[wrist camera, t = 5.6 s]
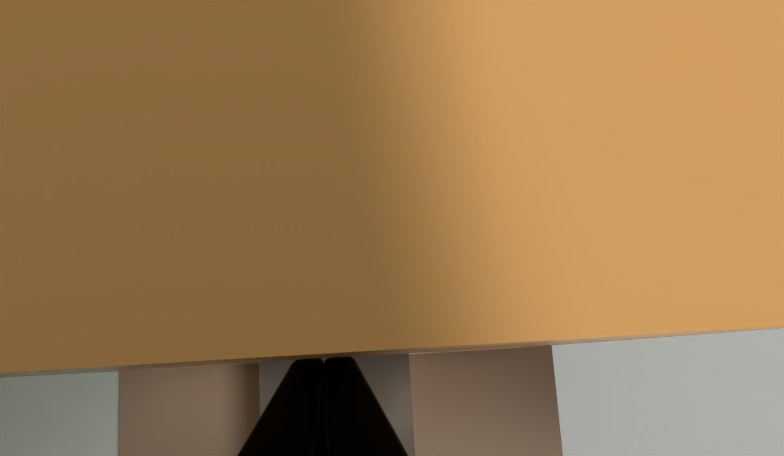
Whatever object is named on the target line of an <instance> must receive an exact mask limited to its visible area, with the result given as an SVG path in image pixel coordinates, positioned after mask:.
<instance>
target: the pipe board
mask: <svg viewBox="0 0 784 456" xmlns="http://www.w3.org/2000/svg"><path fill="white" fill-rule="evenodd" d="M353 358H354V359H355V360H356V362H357V364H358V366H359V367H360V369H361V371H362V373H363V375H364V376H365V378H366V380H367V382H368V383H369V385H370V387H371V389H372V391H373V392H374V394H375V396H376V398H377V400H378V401H379V403H380V405H381V407H382V409H383V410H384V412H385V414H386V416H387V418H388V419H389V421H390V423H391V425H392V427H393V428H394V430H395V432H396V434H397V435H398V437H399V439H400V441H401V443H402V444H403V446H404V448H405V450H406V452H407V453H408V455H409V456H563V454H562V445H561V435H560V425H559V415H558V406H557V396H556V386H555V376H554V366H553V357H552V347H551V345H547V346H533V347H520V348H505V349H488V350H471V351H455V352H438V353H422V354H409V353H408V354H391V355H374V356H358V357H353ZM325 359H327V358H324V359H322V361H323V362H324V361H325ZM294 361H295V360H291V361H275V362H259V363H256V364H239V365H222V366H206V367H189V368H172V369H155V370H135V371H120V397H119V456H237V455H238V453H239V452H240V450H241V448H242V447H243V445H244V443H245V441H246V440H247V438H248V436H249V435H250V433H251V431H252V430H253V428H254V426H255V425H256V423H257V421H258V420H259V418H260V416H261V414H262V413H263V411H264V409H265V408H266V406H267V404H268V403H269V401H270V399H271V398H272V396H273V394H274V393H275V391H276V389H277V387H278V386H279V384H280V382H281V381H282V379H283V377H284V376H285V374H286V372H287V371H288V369H289V367H290V366H291V364H292V363H293V362H294Z"/></svg>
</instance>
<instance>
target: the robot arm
mask: <svg viewBox="0 0 784 456" xmlns="http://www.w3.org/2000/svg"><path fill="white" fill-rule="evenodd" d="M237 456H409V455H408V453H407V452H406V450H405V448H404V446H403V444H402V443H401V441H400V439H399V437H398V435H397V434H396V432H395V430H394V428H393V427H392V425H391V423H390V421H389V419H388V418H387V416H386V414H385V412H384V410H383V409H382V407H381V405H380V403H379V401H378V400H377V398H376V396H375V394H374V392H373V391H372V389H371V387H370V385H369V383H368V382H367V380H366V378H365V376H364V375H363V373H362V371H361V369H360V367H359V366H358V364H357V362H356V360H355V359H354V358H353V357H350V356H349V357H333V358H327V359H325V361H324V362H323V361H322V359H320V358H316V359H300V360H295V361H294V362H293V363H292V364H291V366H290V367H289V369H288V371H287V372H286V374H285V376H284V377H283V379H282V381H281V382H280V384H279V386H278V387H277V389H276V391H275V393H274V394H273V396H272V398H271V399H270V401H269V403H268V404H267V406H266V408H265V409H264V411H263V413H262V414H261V416H260V418H259V420H258V421H257V423H256V425H255V426H254V428H253V430H252V431H251V433H250V435H249V436H248V438H247V440H246V441H245V443H244V445H243V447H242V448H241V450H240V452H239V453H238V455H237Z"/></svg>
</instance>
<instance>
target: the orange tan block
mask: <svg viewBox="0 0 784 456" xmlns="http://www.w3.org/2000/svg"><path fill="white" fill-rule="evenodd" d="M779 328H784V0H0V377H16V376H36V375H55V374H75V373H95V372H115V371H135V370H155V369H172V368H189V367H206V366H222V365H239V364H256V363H259V362H275V361H291V360H300V359H316V358H320V359H324V358H333V357H349V356H350V357H358V356H374V355H391V354H408V353H409V354H422V353H438V352H455V351H471V350H488V349H505V348H520V347H533V346H547V345H561V344H574V343H588V342H602V341H615V340H629V339H643V338H656V337H670V336H684V335H697V334H711V333H724V332H738V331H752V330H765V329H779Z"/></svg>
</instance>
